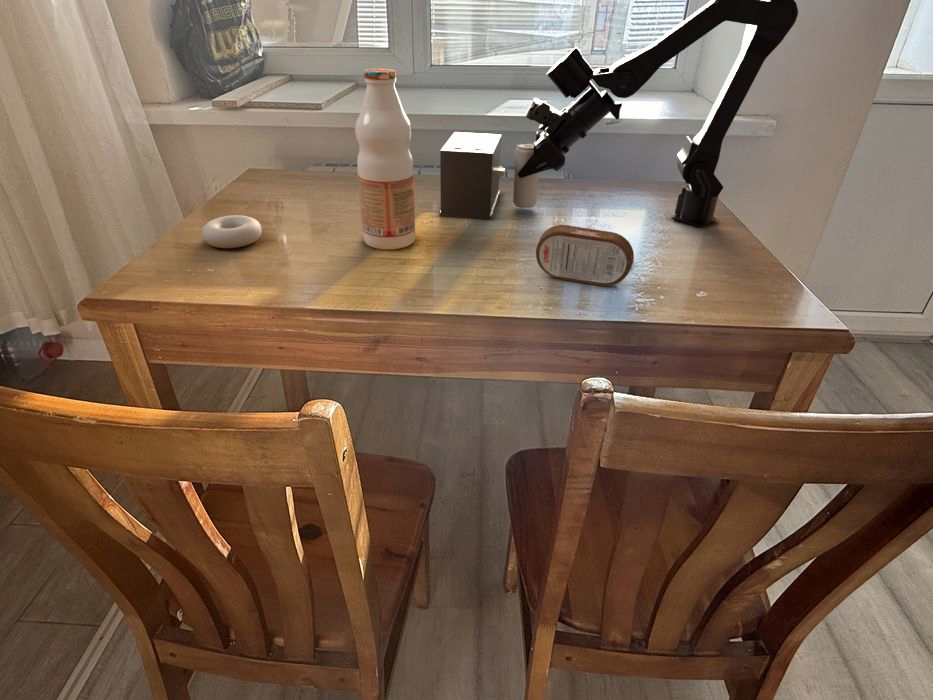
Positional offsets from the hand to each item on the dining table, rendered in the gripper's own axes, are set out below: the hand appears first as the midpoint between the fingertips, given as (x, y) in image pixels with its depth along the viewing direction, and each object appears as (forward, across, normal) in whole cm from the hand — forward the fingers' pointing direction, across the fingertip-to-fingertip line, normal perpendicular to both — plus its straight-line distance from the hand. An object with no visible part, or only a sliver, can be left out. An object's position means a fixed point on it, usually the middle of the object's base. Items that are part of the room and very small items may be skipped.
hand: (519, 172), depth 117 cm
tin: (-3, +33, +14) cm, 36 cm away
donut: (+39, +28, -29) cm, 57 cm away
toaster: (+12, 0, -2) cm, 12 cm away
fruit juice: (+20, +23, -10) cm, 32 cm away
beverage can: (+4, 0, +6) cm, 7 cm away
